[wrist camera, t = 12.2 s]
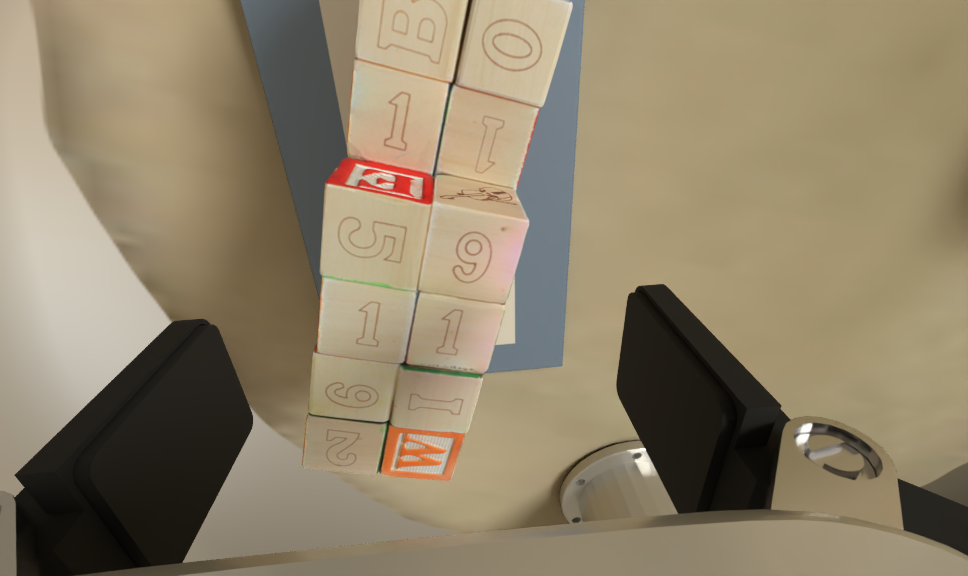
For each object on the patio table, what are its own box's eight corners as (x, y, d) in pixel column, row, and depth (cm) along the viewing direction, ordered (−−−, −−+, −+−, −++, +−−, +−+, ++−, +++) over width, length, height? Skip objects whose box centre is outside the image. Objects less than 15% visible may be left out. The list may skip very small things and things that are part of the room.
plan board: (558, 357, 33) (562, 366, 32) (345, 376, 32) (342, 386, 31) (590, -211, 18) (598, -224, 17) (195, -205, 17) (182, -219, 16)
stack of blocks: (406, -107, 18) (359, -322, 8) (545, -58, 20) (670, -185, 9) (352, 311, 28) (298, 475, 17) (447, 326, 29) (450, 488, 19)
